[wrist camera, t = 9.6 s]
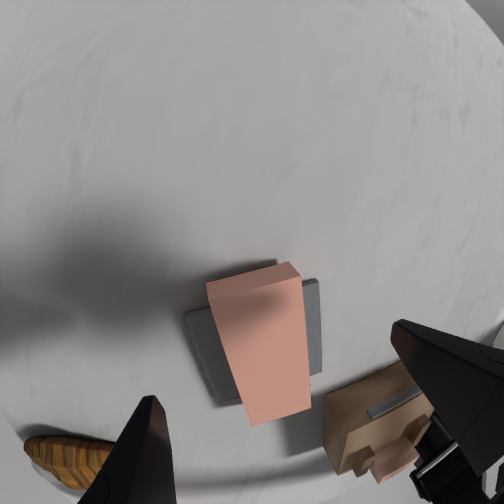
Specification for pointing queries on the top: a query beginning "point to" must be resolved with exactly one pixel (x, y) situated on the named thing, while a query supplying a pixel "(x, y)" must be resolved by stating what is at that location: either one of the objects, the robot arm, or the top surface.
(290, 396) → the salmon pink rectangular block
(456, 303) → the top surface
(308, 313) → the pad
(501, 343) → the cylindrical container
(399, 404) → the dispenser
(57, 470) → the croissant
